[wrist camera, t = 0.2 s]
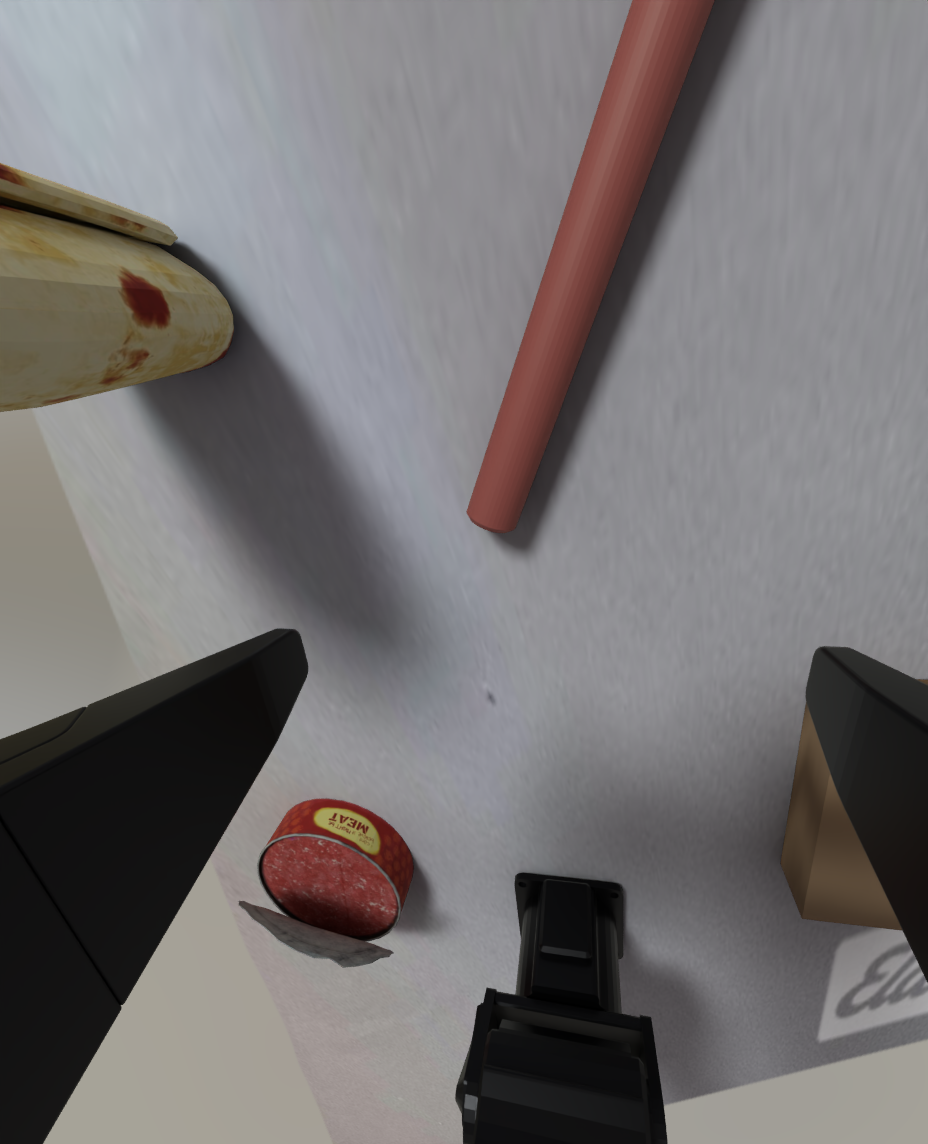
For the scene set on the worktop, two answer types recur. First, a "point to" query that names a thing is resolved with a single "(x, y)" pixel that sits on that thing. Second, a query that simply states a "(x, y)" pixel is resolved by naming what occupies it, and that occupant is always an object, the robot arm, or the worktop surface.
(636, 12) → the red collared rod
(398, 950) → the worktop surface
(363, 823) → the canned food
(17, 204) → the food model
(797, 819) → the walnut base
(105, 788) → the robot arm
